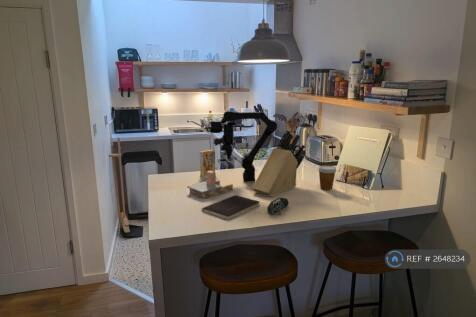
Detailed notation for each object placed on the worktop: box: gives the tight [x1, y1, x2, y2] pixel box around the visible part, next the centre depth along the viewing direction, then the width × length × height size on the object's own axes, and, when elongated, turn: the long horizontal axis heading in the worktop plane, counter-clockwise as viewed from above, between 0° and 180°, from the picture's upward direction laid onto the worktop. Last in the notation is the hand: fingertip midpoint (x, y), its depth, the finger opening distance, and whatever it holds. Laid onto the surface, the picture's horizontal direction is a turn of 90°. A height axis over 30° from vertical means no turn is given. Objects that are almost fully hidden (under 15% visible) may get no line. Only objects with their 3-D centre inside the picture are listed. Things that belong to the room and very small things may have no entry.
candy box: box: [199, 149, 216, 177], centre depth 217 cm, size 9×4×15 cm, turn 129°
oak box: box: [189, 179, 234, 199], centre depth 186 cm, size 20×12×3 cm, turn 134°
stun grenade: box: [266, 197, 290, 216], centre depth 159 cm, size 6×6×14 cm
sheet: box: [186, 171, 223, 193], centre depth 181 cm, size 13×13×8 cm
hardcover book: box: [201, 194, 261, 220], centre depth 162 cm, size 16×23×2 cm
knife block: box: [251, 129, 306, 197], centre depth 188 cm, size 11×35×31 cm, turn 138°
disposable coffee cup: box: [317, 165, 337, 191], centre depth 189 cm, size 10×10×12 cm
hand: (228, 159), depth 202 cm, fingers closed
